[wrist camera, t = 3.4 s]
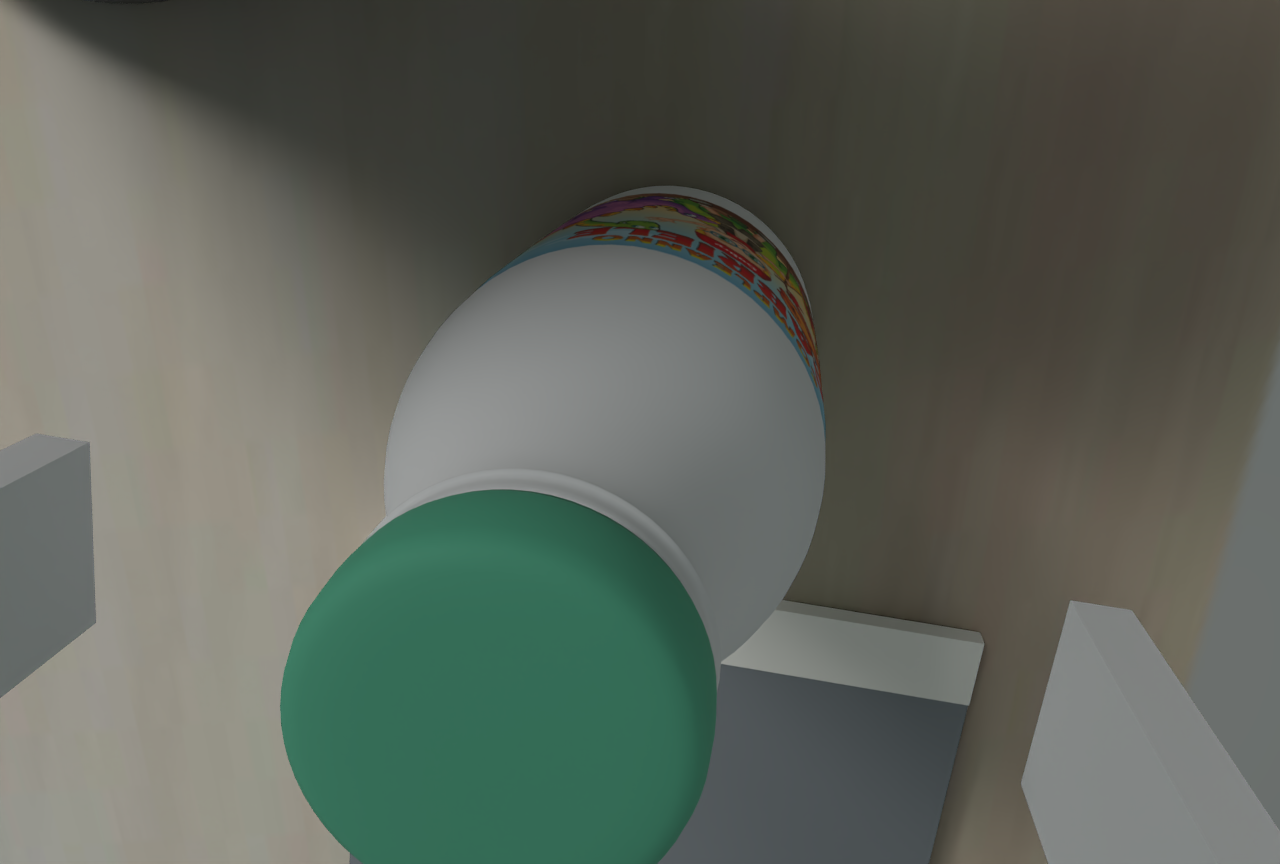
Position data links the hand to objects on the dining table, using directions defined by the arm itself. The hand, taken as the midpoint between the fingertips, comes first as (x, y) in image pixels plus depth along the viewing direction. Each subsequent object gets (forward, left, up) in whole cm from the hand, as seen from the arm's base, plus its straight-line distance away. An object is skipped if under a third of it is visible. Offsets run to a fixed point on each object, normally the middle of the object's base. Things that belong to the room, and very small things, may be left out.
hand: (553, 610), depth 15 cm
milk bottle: (0, 0, -17) cm, 17 cm away
